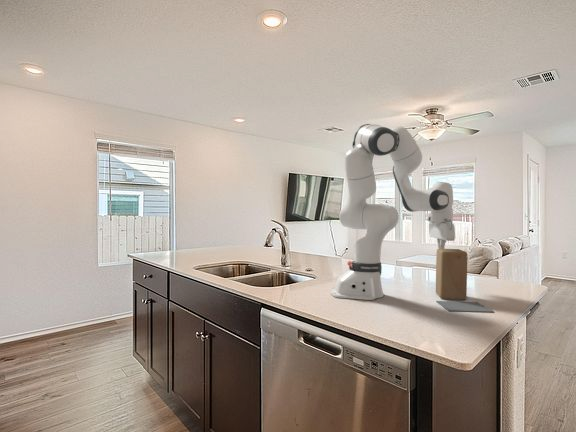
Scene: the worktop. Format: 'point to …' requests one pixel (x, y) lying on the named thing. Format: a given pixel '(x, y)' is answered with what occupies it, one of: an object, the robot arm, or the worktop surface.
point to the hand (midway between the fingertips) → (441, 248)
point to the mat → (464, 306)
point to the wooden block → (451, 274)
